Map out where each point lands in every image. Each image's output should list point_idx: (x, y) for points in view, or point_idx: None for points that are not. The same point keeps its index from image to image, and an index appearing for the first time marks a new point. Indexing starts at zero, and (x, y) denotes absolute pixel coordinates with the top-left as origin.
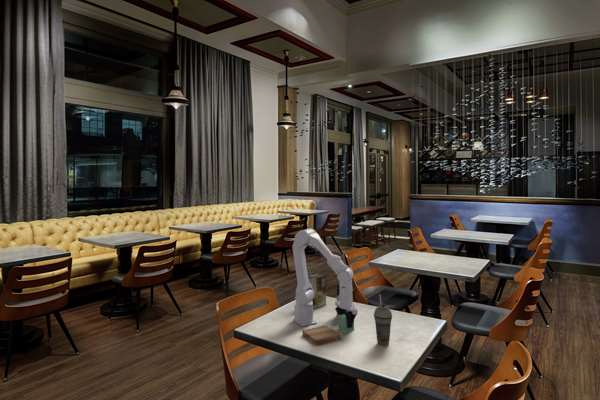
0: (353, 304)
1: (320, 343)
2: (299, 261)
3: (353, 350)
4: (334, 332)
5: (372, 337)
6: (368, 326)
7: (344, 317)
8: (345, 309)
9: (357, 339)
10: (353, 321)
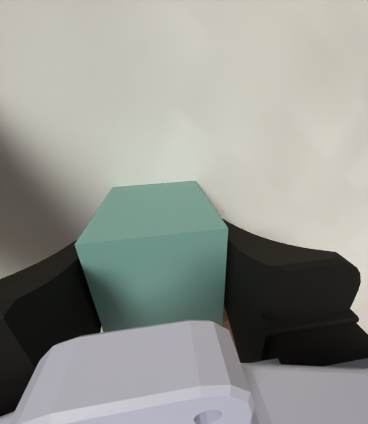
0: (240, 416)
1: None
2: None
3: (364, 291)
4: (230, 330)
5: (357, 139)
6: (191, 4)
7: (195, 317)
8: (49, 317)
9: (310, 232)
10: (238, 229)
